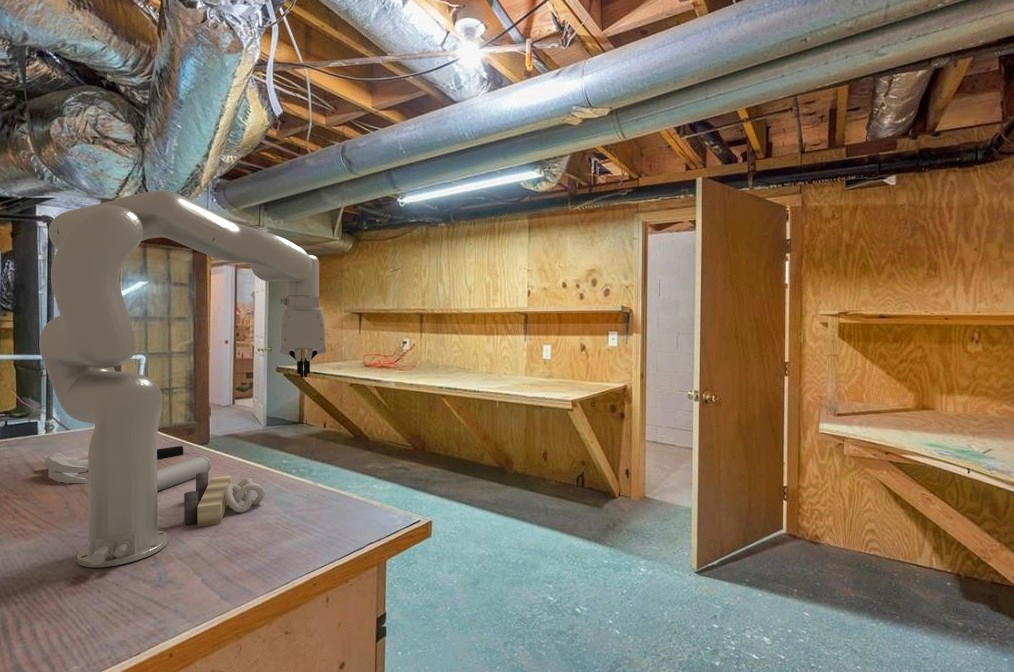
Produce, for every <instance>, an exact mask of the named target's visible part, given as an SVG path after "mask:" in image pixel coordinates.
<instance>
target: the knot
mask: <svg viewBox="0 0 1014 672" xmlns="http://www.w3.org/2000/svg"><path fill="white" fill-rule="evenodd" d="M255 492H256V493H257V496H256V497H254V493H255ZM224 495H225V499H226V501H227V507H228V508H229V509H231V510H233V511H234V512H236V513H245V512H247V511H248V510H250V507H251V506H252V505H253V506H254V505H255V506H256V505H259V504H261V502H263V501H264V499H265V496H266V491H265V488H264V487H263V486H262V485H261V484H259V483H256V482H254V481H253V479H252V478H251V477H245V478H243V479H242V480H241V481H239V482H238V483H234V482H231V483H230V484H228V485H227V486H226V487H225V490H224ZM241 501H242V502H243V504H242V505H241V504H240V502H241Z"/></svg>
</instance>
